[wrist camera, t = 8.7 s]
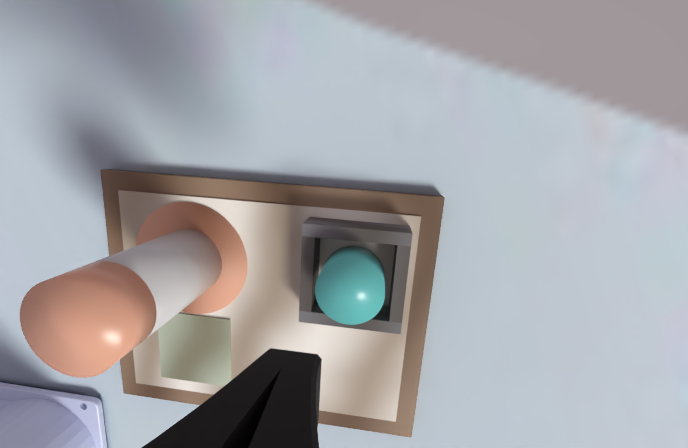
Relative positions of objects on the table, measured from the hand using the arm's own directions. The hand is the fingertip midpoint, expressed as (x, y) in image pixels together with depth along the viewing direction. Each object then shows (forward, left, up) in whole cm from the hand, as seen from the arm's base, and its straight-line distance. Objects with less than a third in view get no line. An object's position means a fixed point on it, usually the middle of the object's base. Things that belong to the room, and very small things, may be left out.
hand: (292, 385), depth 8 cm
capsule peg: (-8, -1, -9) cm, 12 cm away
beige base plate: (-4, -3, -10) cm, 11 cm away
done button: (+1, 0, -9) cm, 9 cm away
